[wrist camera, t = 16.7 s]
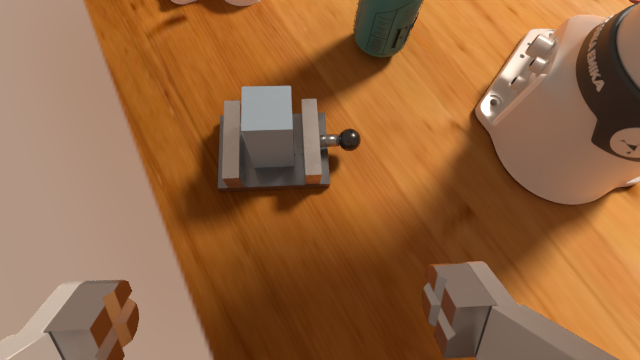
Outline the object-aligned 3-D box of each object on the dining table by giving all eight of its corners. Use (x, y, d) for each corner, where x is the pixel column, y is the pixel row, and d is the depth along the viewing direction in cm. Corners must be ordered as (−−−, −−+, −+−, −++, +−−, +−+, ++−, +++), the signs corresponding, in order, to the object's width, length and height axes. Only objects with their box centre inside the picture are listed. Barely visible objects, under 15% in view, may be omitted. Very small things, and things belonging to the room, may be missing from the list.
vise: (222, 121, 37) (213, 101, 33) (323, 118, 38) (326, 98, 34) (220, 192, 34) (210, 178, 31) (329, 187, 35) (332, 174, 31)
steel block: (254, 131, 35) (241, 86, 28) (292, 130, 36) (290, 85, 28) (254, 167, 34) (241, 130, 27) (294, 166, 34) (292, 129, 27)
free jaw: (301, 112, 36) (301, 98, 34) (354, 110, 37) (358, 97, 34) (305, 184, 34) (305, 175, 31) (362, 181, 34) (367, 172, 32)
